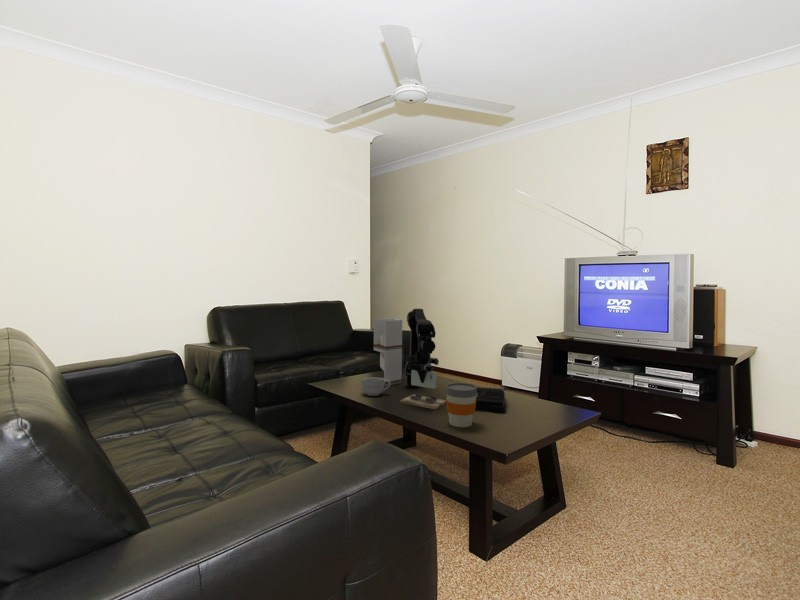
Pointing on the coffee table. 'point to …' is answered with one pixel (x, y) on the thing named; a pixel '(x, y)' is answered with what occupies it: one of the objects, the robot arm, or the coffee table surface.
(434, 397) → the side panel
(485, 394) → the gaming console
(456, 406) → the reusable coffee cup
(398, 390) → the coffee table surface
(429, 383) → the door slab
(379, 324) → the white stacked tower
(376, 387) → the teacup
